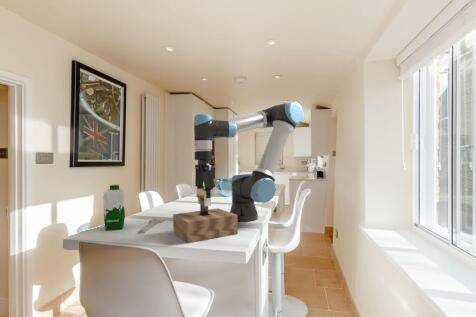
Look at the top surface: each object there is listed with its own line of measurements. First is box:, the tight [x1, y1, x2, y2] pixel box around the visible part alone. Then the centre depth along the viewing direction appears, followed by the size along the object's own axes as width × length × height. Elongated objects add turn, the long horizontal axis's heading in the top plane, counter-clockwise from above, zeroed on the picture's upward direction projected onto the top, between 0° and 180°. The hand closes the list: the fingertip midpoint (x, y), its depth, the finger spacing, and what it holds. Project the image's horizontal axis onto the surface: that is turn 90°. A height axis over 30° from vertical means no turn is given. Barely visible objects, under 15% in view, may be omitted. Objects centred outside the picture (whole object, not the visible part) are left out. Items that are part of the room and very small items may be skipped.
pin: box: [195, 187, 213, 215], centre depth 119 cm, size 6×6×11 cm
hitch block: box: [172, 208, 239, 244], centre depth 119 cm, size 22×18×8 cm
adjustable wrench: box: [137, 217, 165, 235], centre depth 133 cm, size 25×6×2 cm, turn 173°
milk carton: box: [102, 184, 126, 231], centre depth 130 cm, size 9×9×20 cm
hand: (204, 204), depth 119 cm, fingers closed on pin, 6 cm apart
